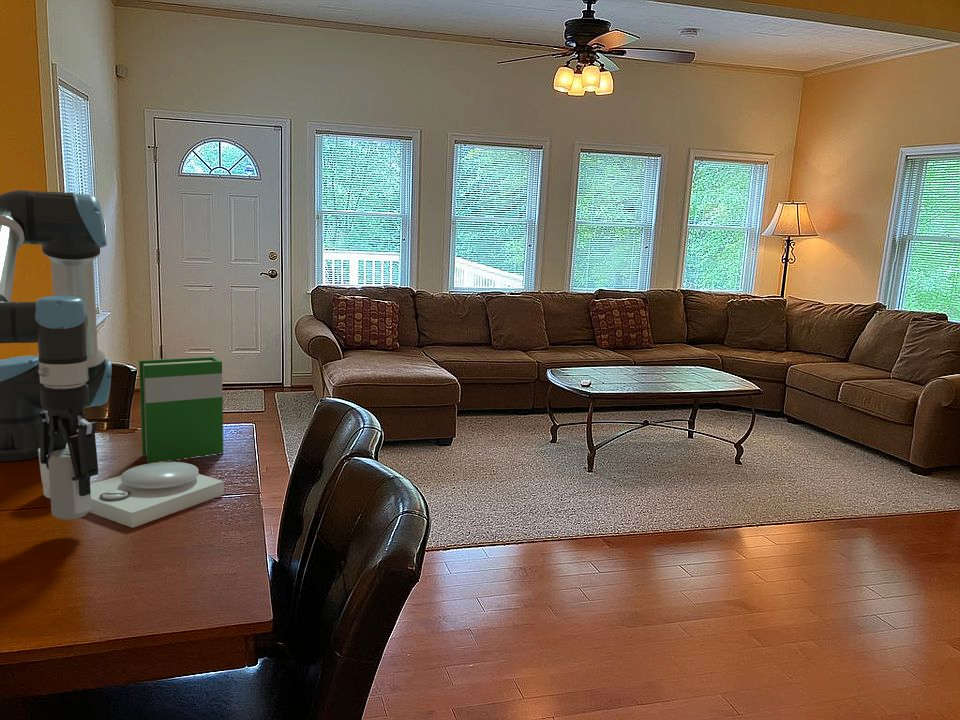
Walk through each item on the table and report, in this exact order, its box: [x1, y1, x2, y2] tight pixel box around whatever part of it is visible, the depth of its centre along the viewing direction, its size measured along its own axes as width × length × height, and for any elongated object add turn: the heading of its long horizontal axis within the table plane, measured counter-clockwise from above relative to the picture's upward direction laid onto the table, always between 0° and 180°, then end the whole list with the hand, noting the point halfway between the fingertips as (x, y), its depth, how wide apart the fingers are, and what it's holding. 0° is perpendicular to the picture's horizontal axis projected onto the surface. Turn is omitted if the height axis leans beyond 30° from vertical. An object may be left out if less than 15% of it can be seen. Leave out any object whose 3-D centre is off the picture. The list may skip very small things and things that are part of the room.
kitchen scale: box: [88, 461, 225, 529], centre depth 151 cm, size 20×22×5 cm
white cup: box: [38, 443, 68, 499], centre depth 152 cm, size 8×8×10 cm
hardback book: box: [138, 356, 224, 464], centre depth 179 cm, size 18×7×24 cm, turn 124°
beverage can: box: [48, 448, 91, 520], centre depth 132 cm, size 6×6×12 cm
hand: (71, 506), depth 133 cm, fingers closed on beverage can, 6 cm apart
